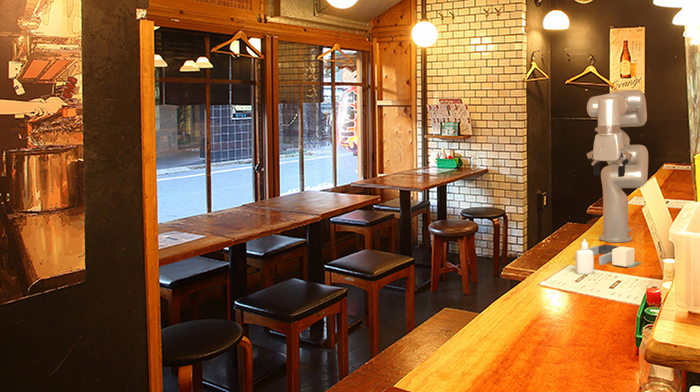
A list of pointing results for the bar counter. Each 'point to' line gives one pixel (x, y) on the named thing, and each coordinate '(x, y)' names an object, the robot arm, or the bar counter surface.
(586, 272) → the eye dropper bottle
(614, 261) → the cream block
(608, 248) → the tray
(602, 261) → the channel
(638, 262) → the green coaster
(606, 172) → the robot arm
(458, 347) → the bar counter surface
